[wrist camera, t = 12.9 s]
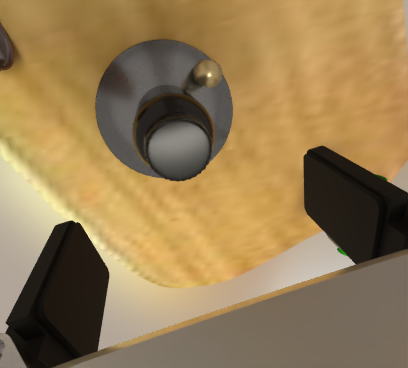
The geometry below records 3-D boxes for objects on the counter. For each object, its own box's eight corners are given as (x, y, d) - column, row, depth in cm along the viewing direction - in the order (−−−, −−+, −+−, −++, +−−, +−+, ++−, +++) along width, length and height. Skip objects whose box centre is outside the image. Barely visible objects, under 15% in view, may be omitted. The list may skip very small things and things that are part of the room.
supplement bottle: (209, 120, 29) (244, 158, 19) (164, 156, 30) (173, 211, 20) (171, 68, 26) (188, 78, 15) (122, 110, 27) (105, 147, 16)
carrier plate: (70, 61, 24) (58, 62, 21) (217, 23, 25) (227, 19, 22) (127, 190, 32) (125, 205, 29) (240, 156, 33) (249, 167, 30)
